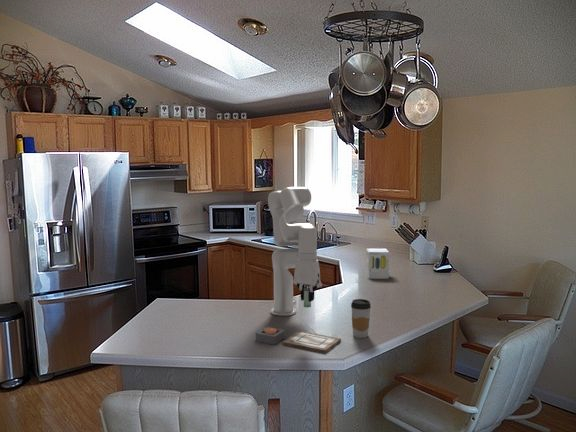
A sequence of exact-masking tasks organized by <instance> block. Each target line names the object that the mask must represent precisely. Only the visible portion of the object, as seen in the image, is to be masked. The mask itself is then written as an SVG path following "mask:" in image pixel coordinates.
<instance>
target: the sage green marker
mask: <svg viewBox="0 0 576 432" xmlns="http://www.w3.org/2000/svg"><path fill="white" fill-rule="evenodd" d="M309 292H310V286H305V287H304V300H303V308H311V307H312V301H311V302H309Z"/></svg>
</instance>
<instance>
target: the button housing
mask: <svg viewBox="0 0 576 432" xmlns="http://www.w3.org/2000/svg"><path fill="white" fill-rule="evenodd" d="M266 328H272V327H271V326H266V327H263V328H262V329H261V330H258V331H256V332H255V342H260V343H264V344H269V345H277V344H278V343H279V342H281V341H284V340H285V339H286V330H285V329H281V328H276V327H274V328H275V329H276V333H275V334H274V335H271V334H266V333H264V330H265V329H266Z"/></svg>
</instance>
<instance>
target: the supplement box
mask: <svg viewBox="0 0 576 432" xmlns="http://www.w3.org/2000/svg"><path fill="white" fill-rule="evenodd" d="M365 250H366V251H365V252H366V253H365V255H366V256H365V257H366V258H365V275H366V277H367V279H369V280H370V279H372V280H373V279H375V280H376V279H378V280H381V279H382V280H388V279H389V276H390V274H389V273H390V272H389V271H390V251H389V250H388V249H387V248H386V247H385V248H372V247H371V248H366V249H365Z"/></svg>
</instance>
